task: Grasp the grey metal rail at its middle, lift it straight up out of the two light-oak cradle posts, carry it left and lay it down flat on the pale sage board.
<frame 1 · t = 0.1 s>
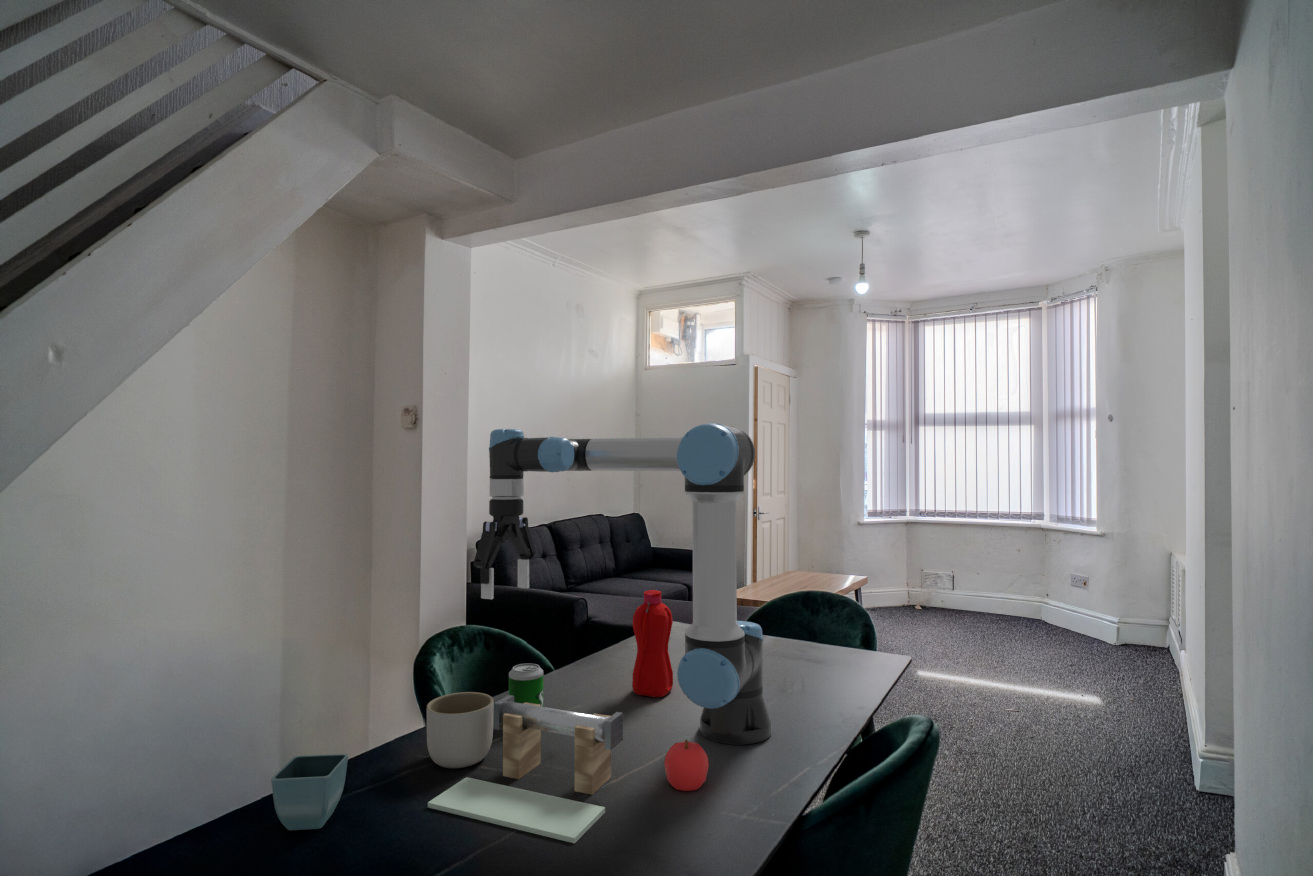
hand: (506, 593, 155), 28 cm above the table, fingers open, 13 cm apart
rail: (556, 732, 127), point 8 cm above the table, touching post far, post near
flower pot: (310, 824, 111), on the table
post near: (593, 784, 124), on the table
board: (515, 809, 115), on the table
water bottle: (651, 694, 171), on the table
soda can: (525, 723, 153), on the table
apple: (686, 786, 123), on the table
post far: (522, 769, 129), on the table
planter: (460, 760, 134), on the table
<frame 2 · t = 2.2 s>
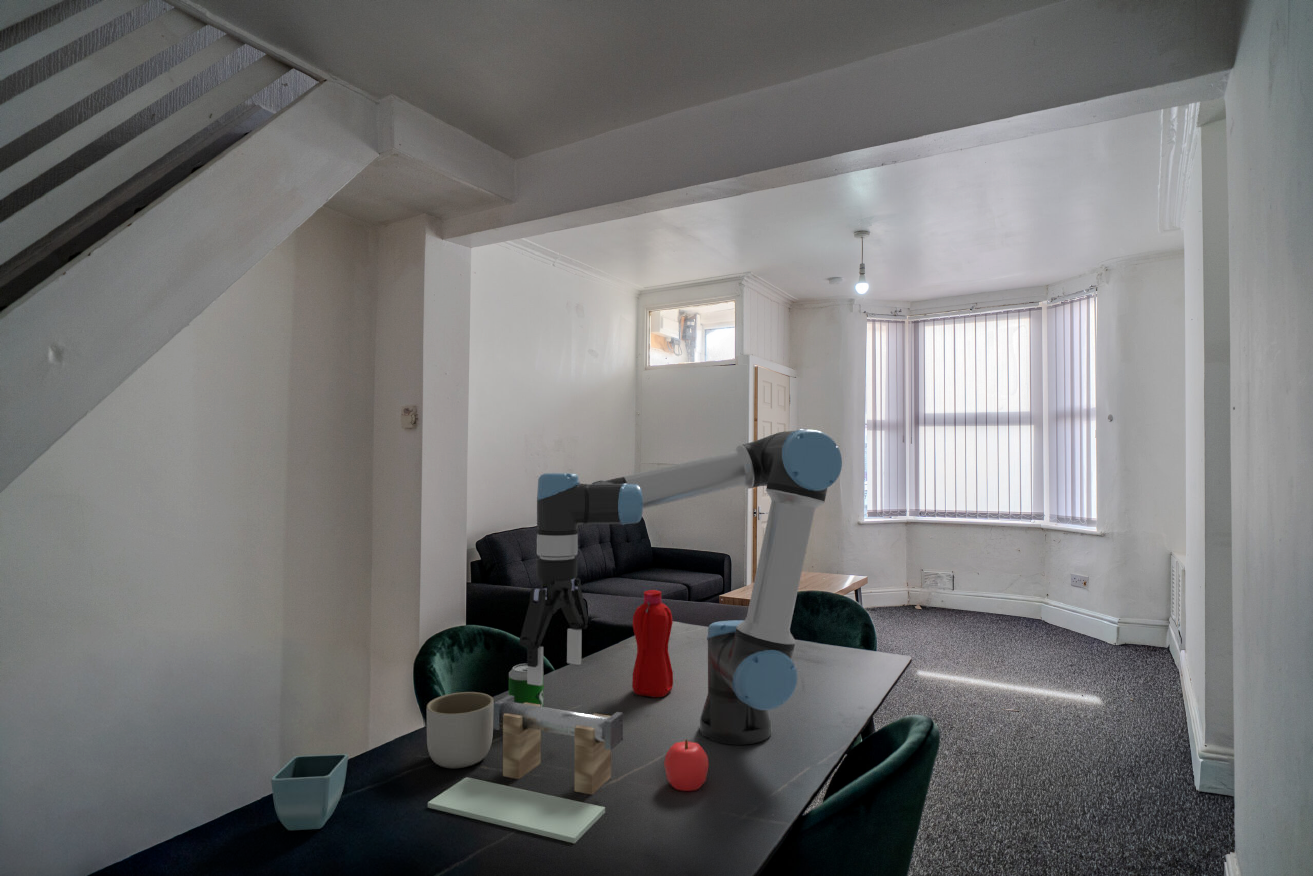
hand: (555, 673, 127), 19 cm above the table, fingers open, 13 cm apart
nothing on the table moved.
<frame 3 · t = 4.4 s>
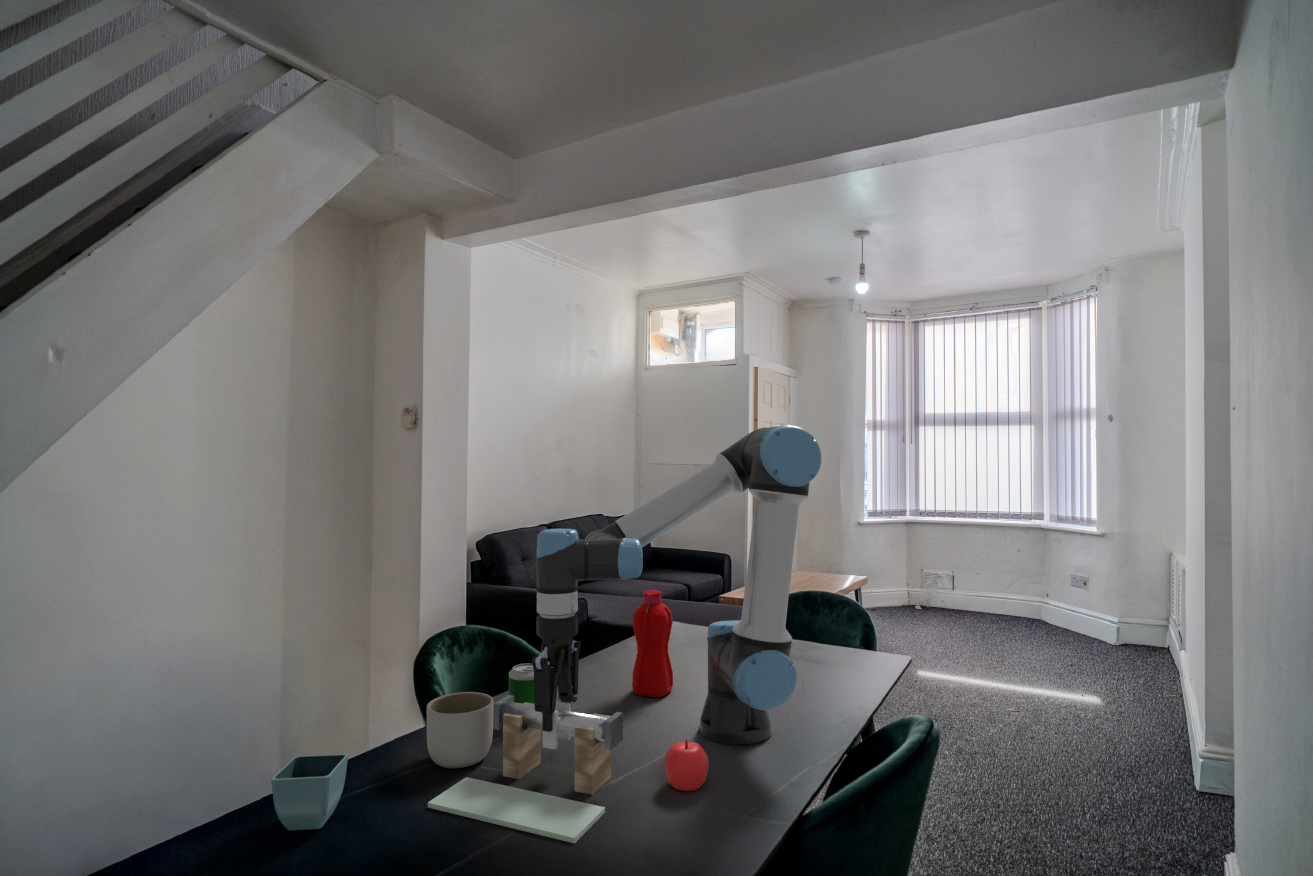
hand: (557, 742, 127), 6 cm above the table, fingers closed on rail, 4 cm apart
rail: (557, 732, 127), point 8 cm above the table, touching gripper, post far, post near
everything else where it was.
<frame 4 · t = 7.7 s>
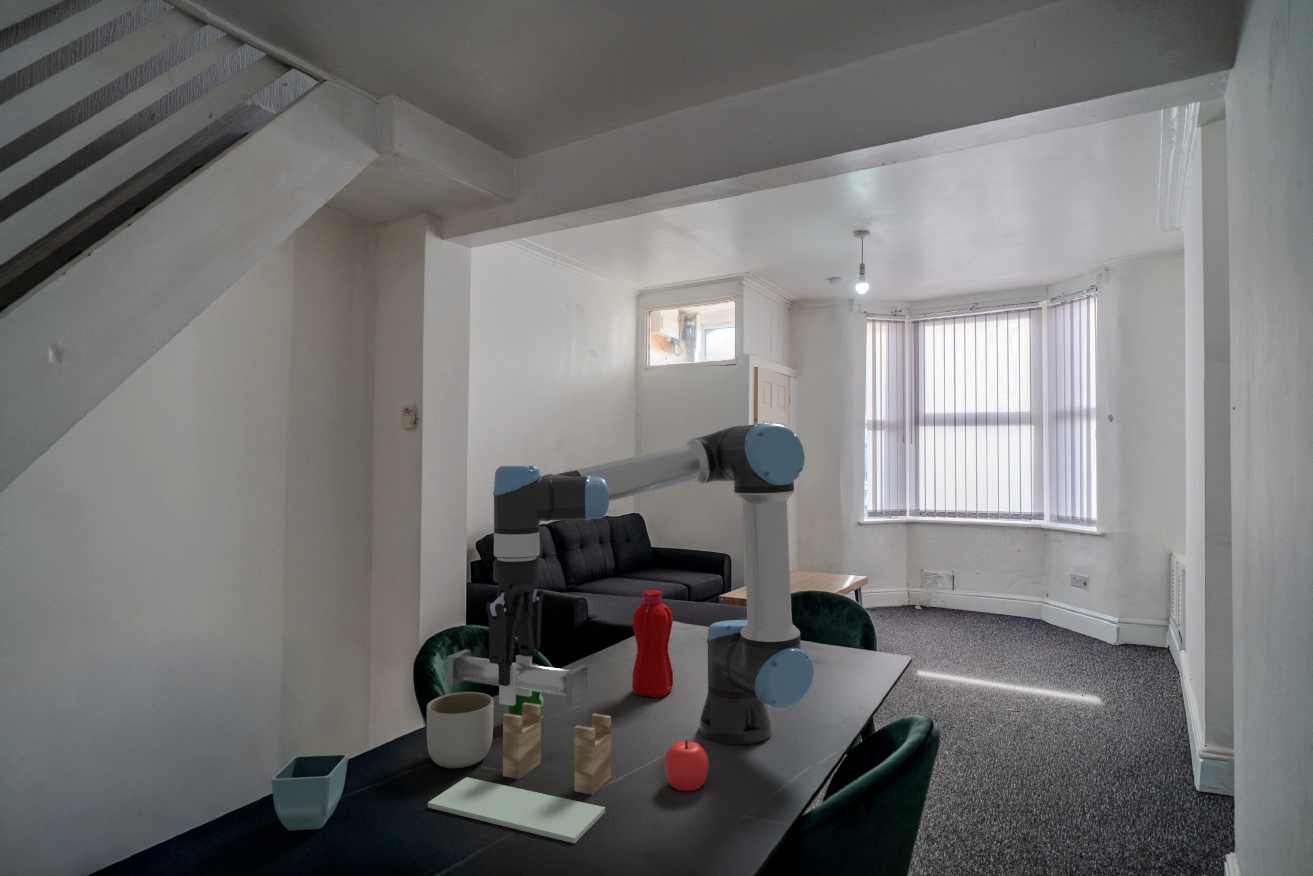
hand: (515, 699, 115), 18 cm above the table, fingers closed on rail, 4 cm apart
rail: (515, 687, 115), point 20 cm above the table, touching gripper
everything else where it was.
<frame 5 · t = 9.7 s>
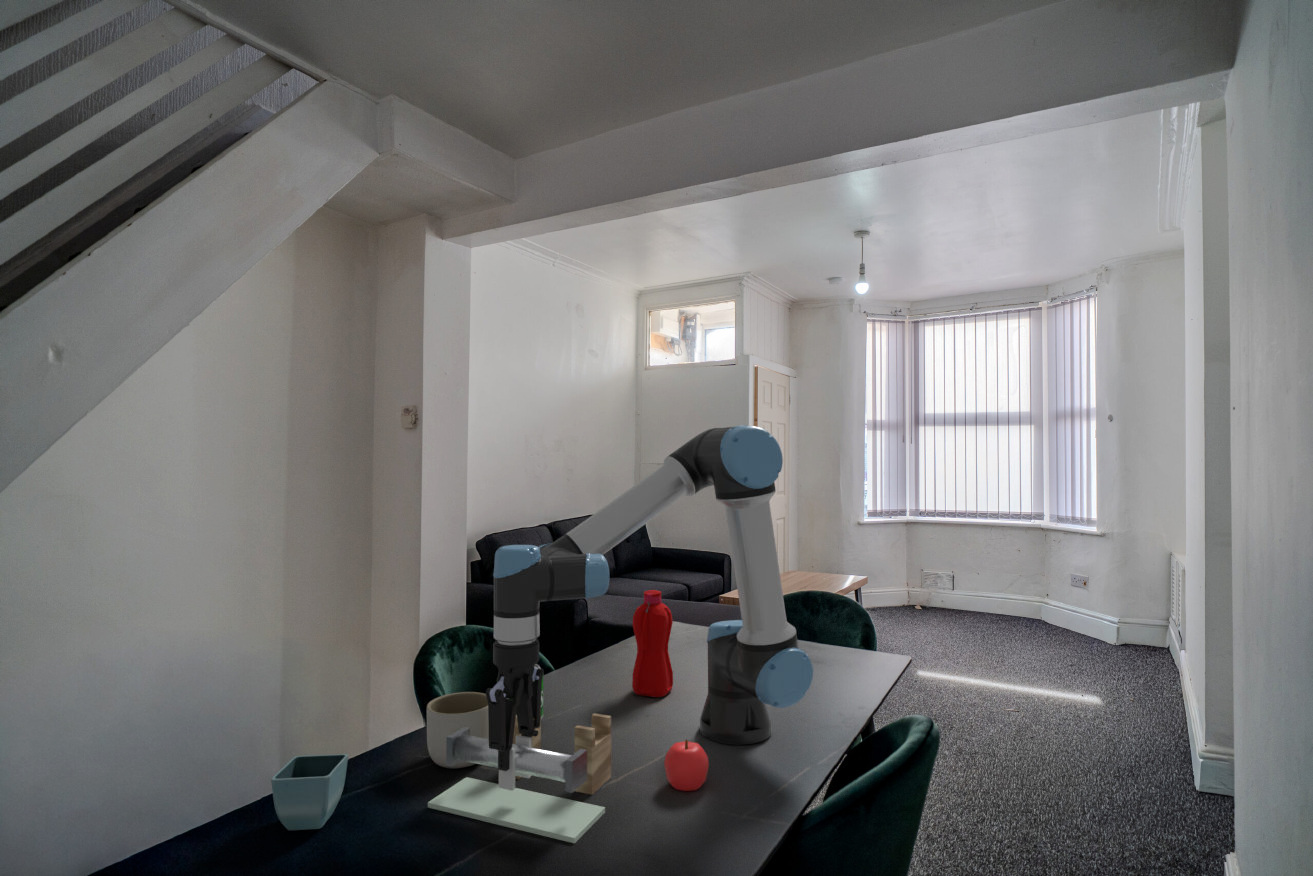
hand: (515, 781, 115), 5 cm above the table, fingers closed on rail, 4 cm apart
rail: (515, 770, 115), point 6 cm above the table, touching gripper
everything else where it was.
when the fingers open (1 cm above the table, at t = 11.2 s): rail drops 2 cm, resting on board.
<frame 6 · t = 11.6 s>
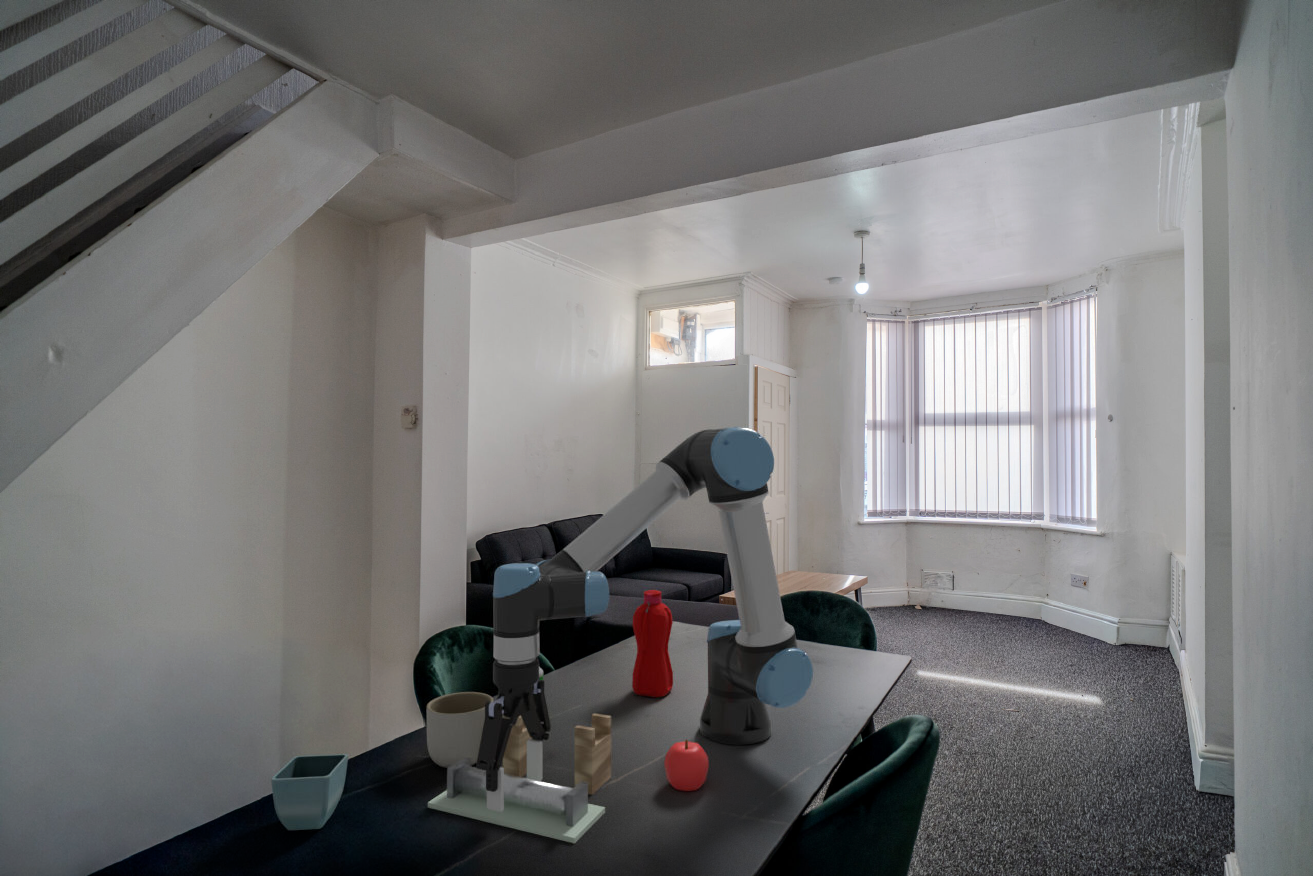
hand: (515, 793, 115), 3 cm above the table, fingers open, 10 cm apart
rail: (515, 802, 115), point 1 cm above the table, touching board
everything else where it was.
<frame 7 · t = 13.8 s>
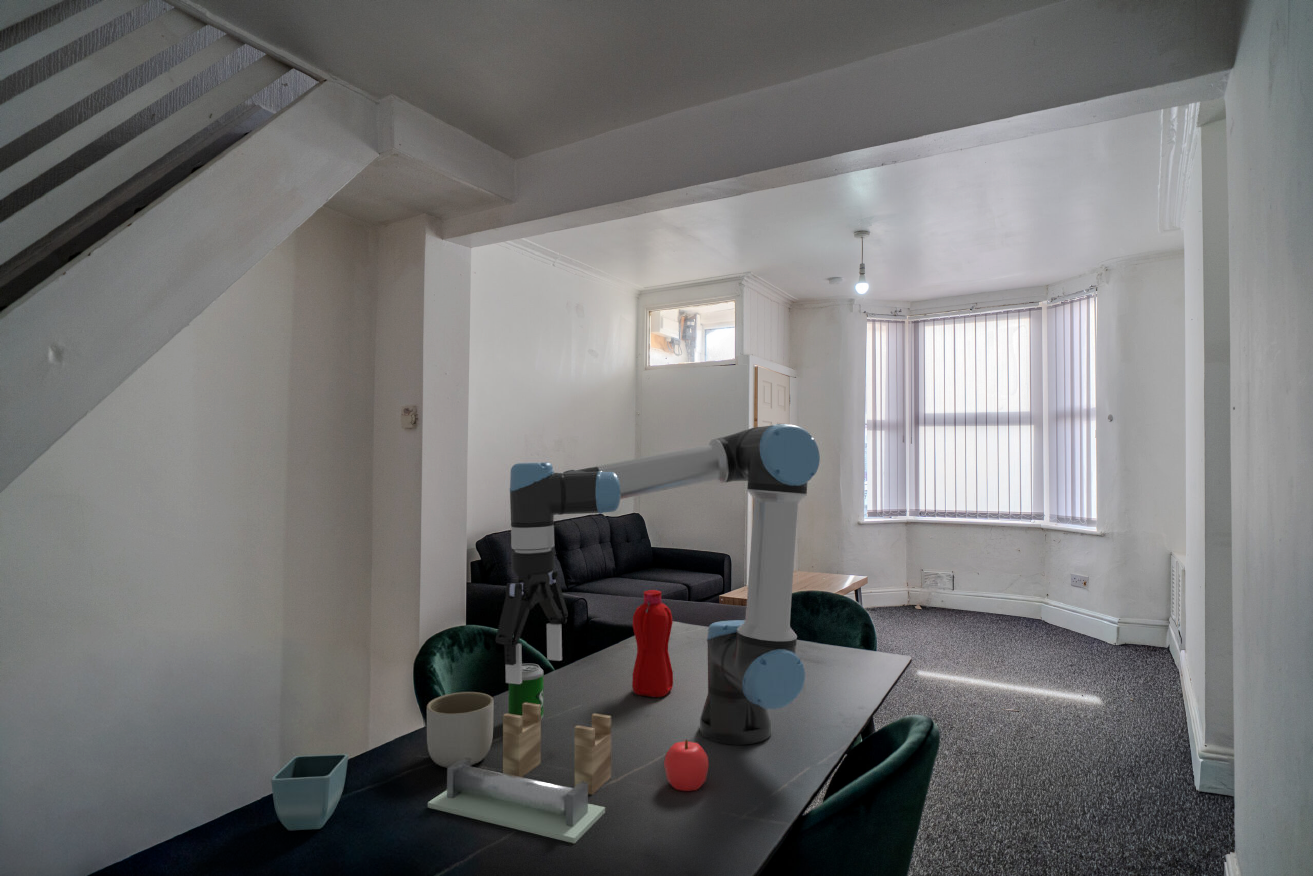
hand: (535, 671, 122), 21 cm above the table, fingers open, 13 cm apart
nothing on the table moved.
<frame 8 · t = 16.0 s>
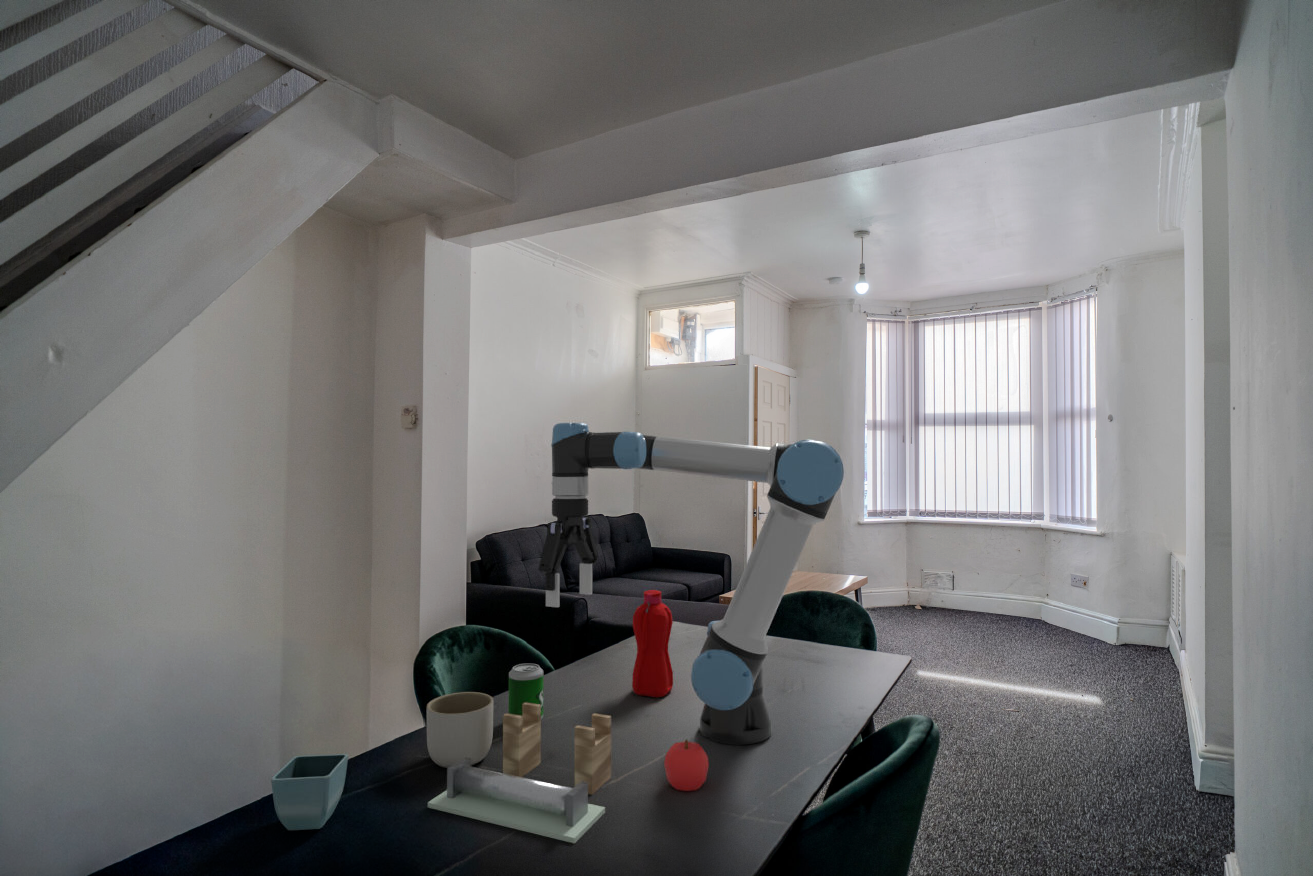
hand: (570, 600, 143), 29 cm above the table, fingers open, 13 cm apart
nothing on the table moved.
at the end: rail inside the target area (0.1 cm from its centre), point 1.2 cm above the table; the gripper is holding nothing; rail touching board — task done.
